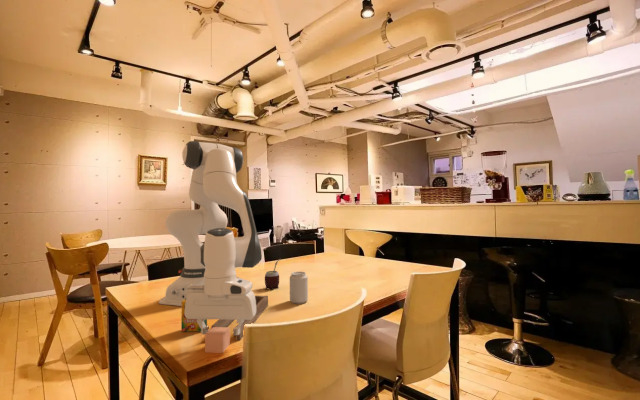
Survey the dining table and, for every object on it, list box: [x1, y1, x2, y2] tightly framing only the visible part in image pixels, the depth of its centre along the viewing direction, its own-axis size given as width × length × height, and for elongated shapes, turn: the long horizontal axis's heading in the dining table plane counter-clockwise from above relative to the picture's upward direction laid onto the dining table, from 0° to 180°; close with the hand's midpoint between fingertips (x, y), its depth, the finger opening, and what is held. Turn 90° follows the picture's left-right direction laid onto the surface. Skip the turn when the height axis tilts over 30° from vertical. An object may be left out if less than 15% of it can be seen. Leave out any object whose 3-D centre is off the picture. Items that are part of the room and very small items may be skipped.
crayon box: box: [180, 299, 208, 332], centre depth 98 cm, size 7×3×12 cm, turn 90°
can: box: [289, 271, 309, 305], centre depth 125 cm, size 8×8×12 cm
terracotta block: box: [204, 326, 231, 354], centre depth 85 cm, size 5×5×5 cm
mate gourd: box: [264, 258, 281, 291], centre depth 146 cm, size 8×8×15 cm
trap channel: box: [211, 295, 269, 341], centre depth 105 cm, size 9×31×4 cm, turn 174°
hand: (220, 334), depth 86 cm, fingers open, 8 cm apart
